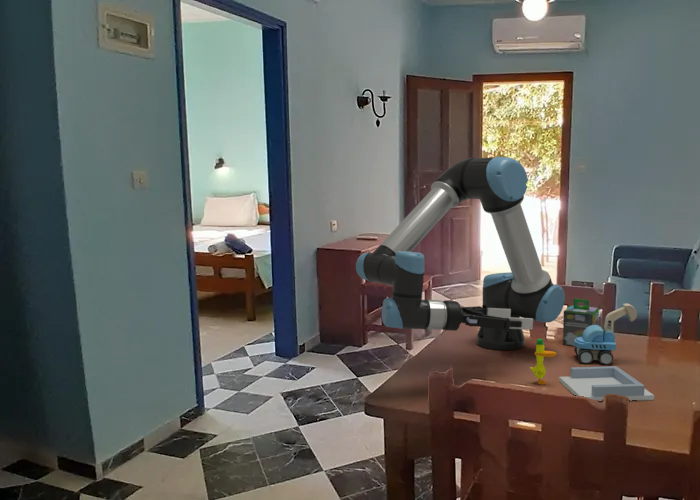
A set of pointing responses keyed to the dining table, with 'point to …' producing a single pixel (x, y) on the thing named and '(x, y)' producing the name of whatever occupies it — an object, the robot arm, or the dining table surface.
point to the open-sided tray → (604, 383)
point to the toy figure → (541, 361)
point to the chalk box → (578, 320)
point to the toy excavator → (601, 338)
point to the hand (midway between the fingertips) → (520, 318)
